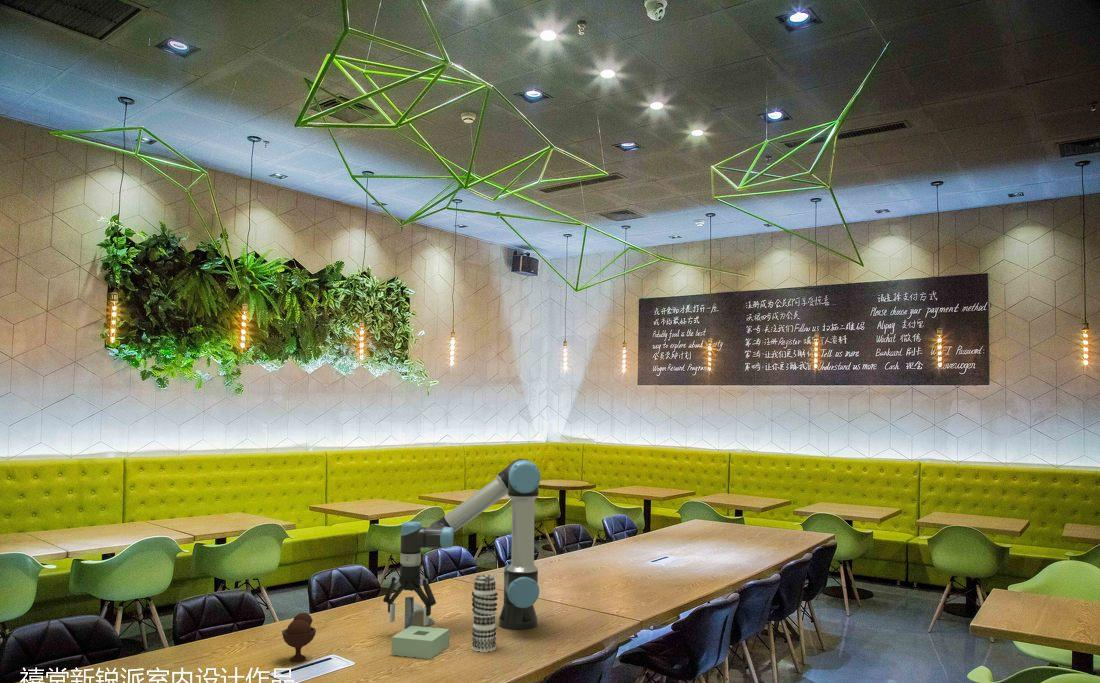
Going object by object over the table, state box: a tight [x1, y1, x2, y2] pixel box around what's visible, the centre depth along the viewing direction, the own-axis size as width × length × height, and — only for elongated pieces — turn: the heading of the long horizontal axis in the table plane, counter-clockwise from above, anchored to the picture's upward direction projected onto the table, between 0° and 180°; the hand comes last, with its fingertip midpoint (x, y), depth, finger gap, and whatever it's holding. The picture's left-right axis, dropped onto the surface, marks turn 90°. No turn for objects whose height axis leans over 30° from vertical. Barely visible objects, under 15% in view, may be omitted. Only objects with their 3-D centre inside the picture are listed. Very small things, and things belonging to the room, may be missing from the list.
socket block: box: [390, 626, 451, 660], centre depth 269 cm, size 15×15×6 cm
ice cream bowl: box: [281, 612, 317, 663], centre depth 259 cm, size 11×11×15 cm
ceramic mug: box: [413, 603, 435, 627], centre depth 301 cm, size 11×8×8 cm
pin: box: [403, 596, 415, 630], centre depth 285 cm, size 3×3×14 cm
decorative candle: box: [471, 574, 499, 653], centre depth 273 cm, size 9×9×25 cm
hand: (408, 623), depth 285 cm, fingers open, 13 cm apart
